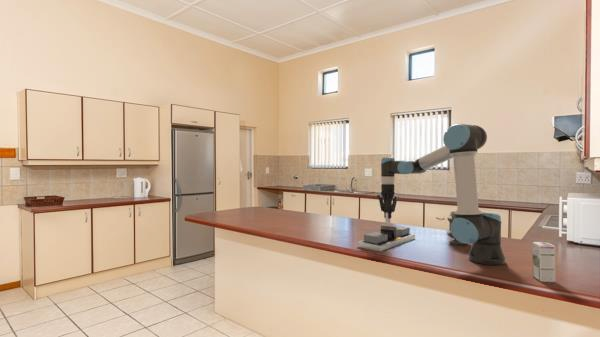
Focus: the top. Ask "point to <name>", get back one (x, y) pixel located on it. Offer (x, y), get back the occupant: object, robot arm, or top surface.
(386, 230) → the electrical switch
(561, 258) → the top surface
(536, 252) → the syrup box
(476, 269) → the top surface
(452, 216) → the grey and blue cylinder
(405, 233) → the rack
